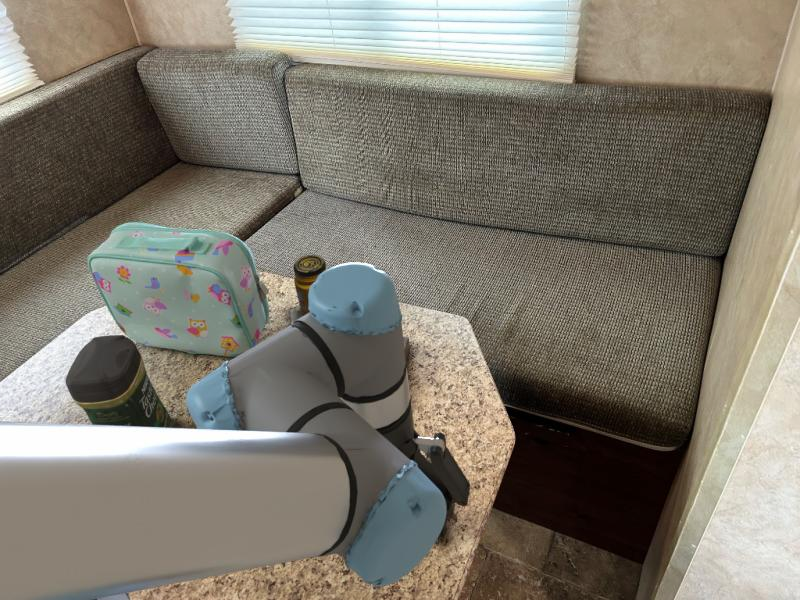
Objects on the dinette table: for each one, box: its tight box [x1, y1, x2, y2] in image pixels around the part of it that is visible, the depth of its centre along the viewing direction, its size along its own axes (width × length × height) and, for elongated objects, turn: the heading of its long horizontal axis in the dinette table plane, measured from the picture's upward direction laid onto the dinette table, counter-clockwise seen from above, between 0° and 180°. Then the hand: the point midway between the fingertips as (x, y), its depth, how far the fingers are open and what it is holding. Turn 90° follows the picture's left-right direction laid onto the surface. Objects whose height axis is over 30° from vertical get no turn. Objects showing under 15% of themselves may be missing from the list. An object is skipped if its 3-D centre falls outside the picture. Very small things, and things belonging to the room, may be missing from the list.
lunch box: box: [87, 221, 270, 358], centre depth 97 cm, size 27×10×21 cm, turn 76°
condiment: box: [289, 254, 328, 325], centre depth 101 cm, size 7×8×12 cm
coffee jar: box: [64, 334, 176, 428], centre depth 80 cm, size 10×8×19 cm
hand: (394, 518), depth 74 cm, fingers open, 11 cm apart
